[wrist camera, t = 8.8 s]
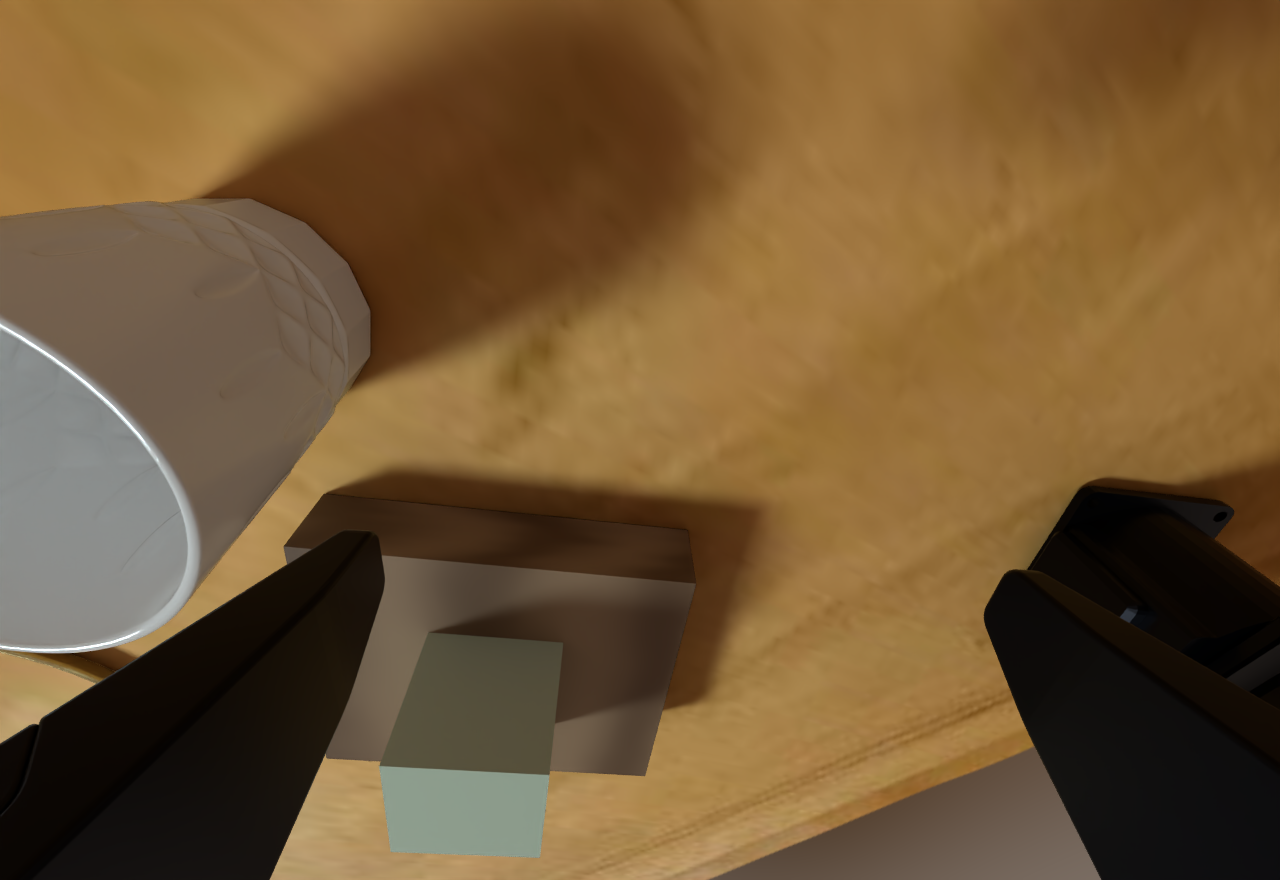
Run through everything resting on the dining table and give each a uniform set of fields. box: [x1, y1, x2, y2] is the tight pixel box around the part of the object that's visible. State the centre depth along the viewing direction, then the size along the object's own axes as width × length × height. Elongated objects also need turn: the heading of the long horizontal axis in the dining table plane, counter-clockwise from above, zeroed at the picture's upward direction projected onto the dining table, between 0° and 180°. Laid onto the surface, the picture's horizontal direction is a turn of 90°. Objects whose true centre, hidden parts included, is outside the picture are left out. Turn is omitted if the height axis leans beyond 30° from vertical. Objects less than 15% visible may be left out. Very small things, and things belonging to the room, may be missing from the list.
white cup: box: [0, 198, 370, 653], centre depth 14 cm, size 8×8×10 cm
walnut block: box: [284, 494, 696, 776], centre depth 24 cm, size 14×12×3 cm
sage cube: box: [379, 632, 563, 858], centre depth 21 cm, size 5×5×5 cm
